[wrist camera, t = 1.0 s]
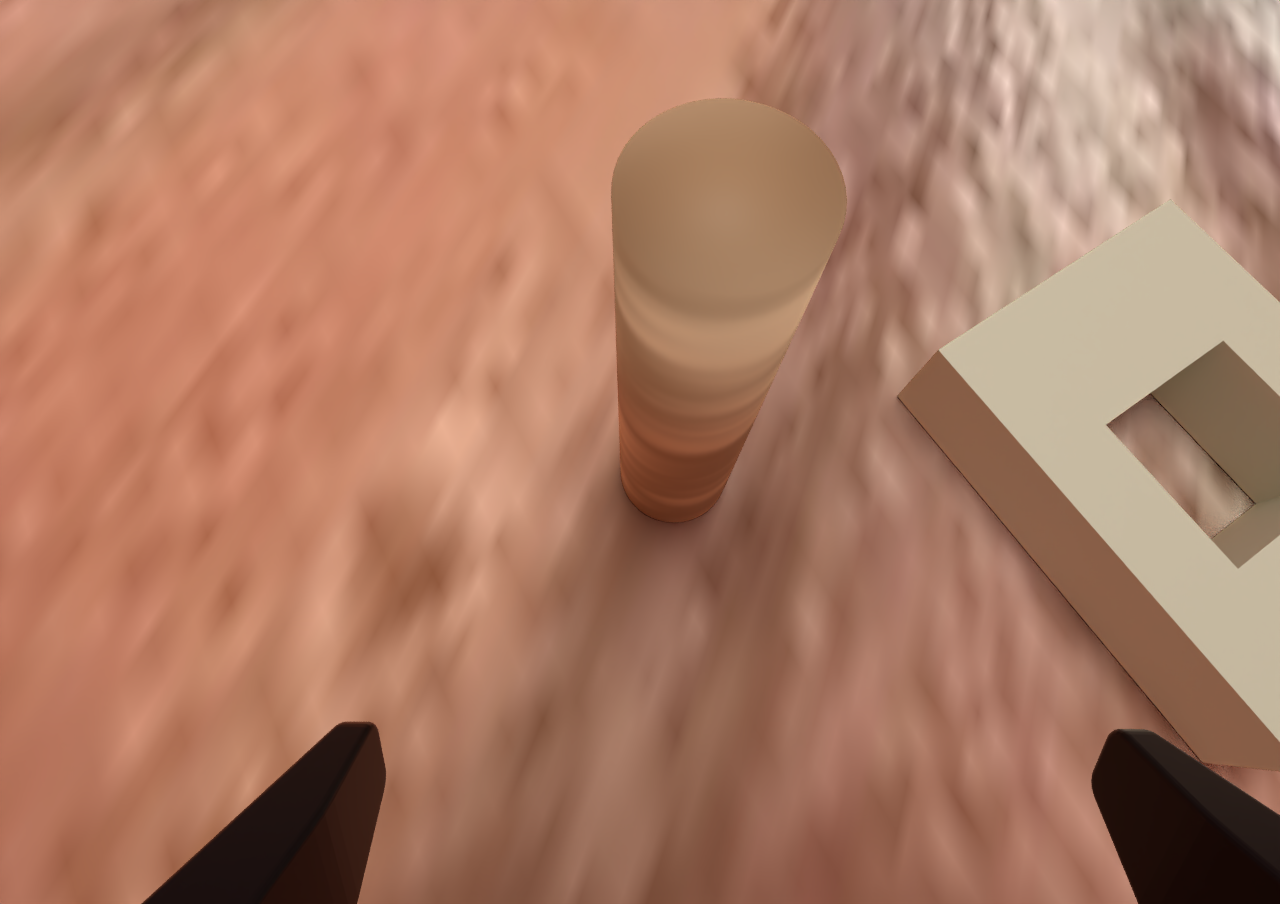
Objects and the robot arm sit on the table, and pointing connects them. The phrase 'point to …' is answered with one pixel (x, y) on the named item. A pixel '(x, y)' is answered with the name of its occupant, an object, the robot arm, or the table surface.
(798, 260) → the peg
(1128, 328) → the socket block
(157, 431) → the table surface
